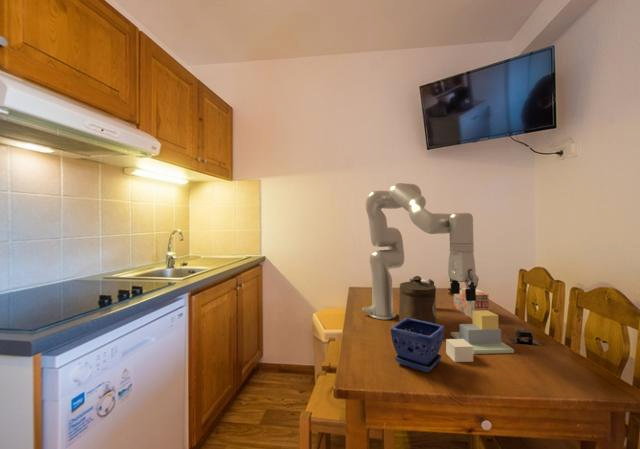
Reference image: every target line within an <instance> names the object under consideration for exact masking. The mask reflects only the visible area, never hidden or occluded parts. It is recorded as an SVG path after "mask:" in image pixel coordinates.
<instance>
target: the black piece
mask: <svg viewBox="0 0 640 449" xmlns="http://www.w3.org/2000/svg"><path fill="white" fill-rule="evenodd" d="M515 332H516V333H515V335H516V336H515V337H516V338H515V337H507V339H508V340H509V342H511V343H512V344H514V345H522V346H523V345H526V346H539V347H542V346H543V345H542V344H540V343H539V342H538V341H537V340H536V339H534V337H533V334H532V332H531V330H528V329H521V328H520V329H519V328H517V330H516V331H515Z"/></svg>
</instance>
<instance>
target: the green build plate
mask: <svg viewBox="0 0 640 449" xmlns="http://www.w3.org/2000/svg"><path fill="white" fill-rule="evenodd" d="M450 336H451V337H452V338H453V339H461V338H460V331H451V332H450ZM471 345H472V346H473V355H479V354H480V355H483V354H484V355H485V354H513V353H515V350H514V348H512V347H511V346H509V345H507V344H506V343H505V342H504V341H501V343H489V344H471Z"/></svg>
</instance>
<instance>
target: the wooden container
mask: <svg viewBox="0 0 640 449" xmlns="http://www.w3.org/2000/svg"><path fill="white" fill-rule="evenodd" d="M412 279H413V280H414V281H413V282H410V281H405V282H401V283H400V284H399V302H398V304H399V306H398V307H399V308H398V309H399V312H398V313H399V316H398V318H399V320H398V321H399V322H400V321H402V320H404V319H406V318H411V319H416V320H420V321H425V322H429V323H434V324H437V309H436V308H437V306H436V305H437V304H436V302H437V301H436V294H437V291H436V290H437V289H436V288H437V287H436V285H435V284H434V285H433V284H429V283H424V282H421V280H423V279H422V277H421V276H420V275H415V276H414V277H412ZM399 322H398V323H399ZM412 329H413V328H412ZM405 331H406V329H405ZM409 331H410V329H409ZM420 332H422V330H420ZM414 333H416V332H414ZM429 334H430V333H427V335H429Z"/></svg>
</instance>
